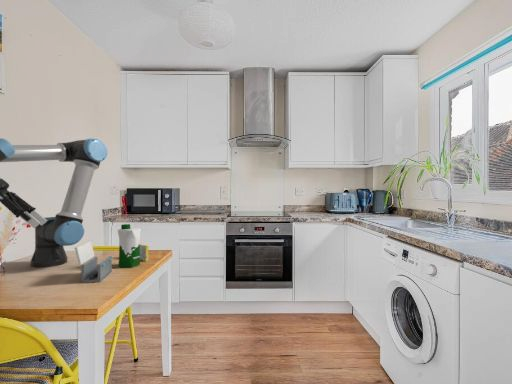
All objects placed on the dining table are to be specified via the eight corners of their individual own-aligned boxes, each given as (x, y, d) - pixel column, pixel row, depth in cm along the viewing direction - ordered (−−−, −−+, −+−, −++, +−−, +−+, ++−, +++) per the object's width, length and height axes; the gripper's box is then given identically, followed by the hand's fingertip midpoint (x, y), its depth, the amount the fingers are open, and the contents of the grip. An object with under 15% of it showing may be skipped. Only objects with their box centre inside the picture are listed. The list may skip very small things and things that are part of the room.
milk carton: (126, 263, 153) (127, 223, 153) (143, 264, 151) (143, 224, 151) (115, 267, 144) (115, 225, 144) (132, 268, 142) (132, 226, 142)
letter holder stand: (94, 272, 135) (95, 256, 135) (112, 271, 137) (112, 256, 137) (81, 282, 119) (81, 265, 119) (101, 281, 121) (101, 264, 121)
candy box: (148, 261, 158) (149, 245, 158) (145, 261, 156) (145, 245, 156) (129, 257, 167) (129, 242, 167) (126, 258, 165) (126, 242, 165)
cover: (94, 256, 135) (91, 256, 135) (91, 240, 135) (87, 241, 135) (81, 264, 119) (77, 265, 119) (76, 247, 119) (73, 248, 119)
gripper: (-4, 191, 126) (41, 228, 131) (-32, 191, 106) (23, 234, 111) (11, 178, 128) (55, 215, 133) (-13, 176, 108) (40, 220, 113)
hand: (41, 224), depth 122 cm, fingers open, 9 cm apart
